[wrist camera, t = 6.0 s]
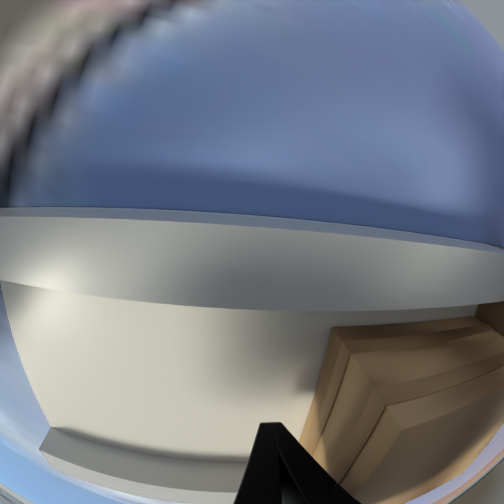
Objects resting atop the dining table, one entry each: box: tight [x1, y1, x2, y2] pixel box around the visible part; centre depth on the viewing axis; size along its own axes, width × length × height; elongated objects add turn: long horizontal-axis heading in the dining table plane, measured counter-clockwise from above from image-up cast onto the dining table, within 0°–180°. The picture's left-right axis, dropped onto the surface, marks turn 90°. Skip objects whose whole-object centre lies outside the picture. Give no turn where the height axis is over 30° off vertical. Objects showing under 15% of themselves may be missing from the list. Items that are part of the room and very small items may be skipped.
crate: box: [299, 316, 504, 504], centre depth 8 cm, size 8×7×5 cm
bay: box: [0, 207, 504, 504], centre depth 8 cm, size 24×14×4 cm, turn 85°
